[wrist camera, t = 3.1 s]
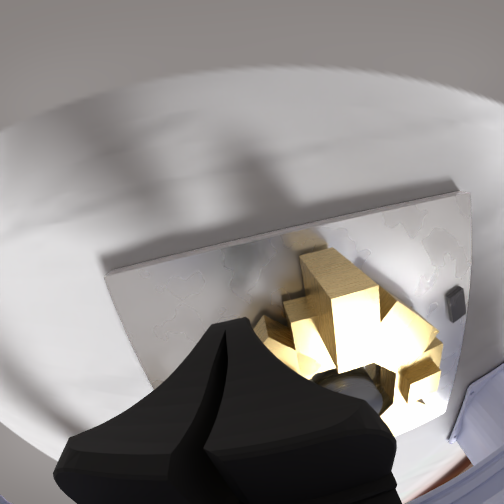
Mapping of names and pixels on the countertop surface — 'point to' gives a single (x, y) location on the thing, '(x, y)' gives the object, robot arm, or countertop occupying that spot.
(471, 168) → the countertop surface
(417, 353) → the gold blocky ring
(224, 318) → the plate
